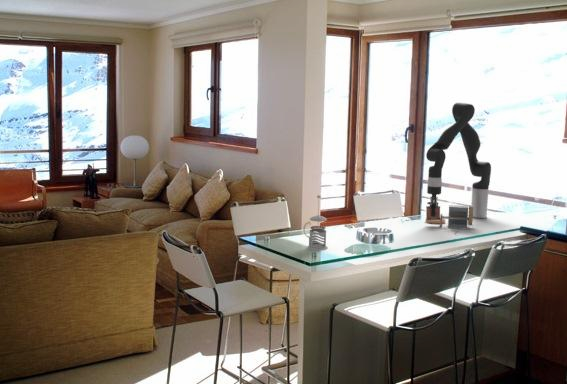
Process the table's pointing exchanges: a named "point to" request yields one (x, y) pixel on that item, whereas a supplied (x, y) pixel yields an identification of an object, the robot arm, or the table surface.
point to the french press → (312, 243)
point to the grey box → (457, 212)
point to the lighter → (428, 212)
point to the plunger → (470, 217)
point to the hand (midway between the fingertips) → (433, 215)
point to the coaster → (435, 221)
